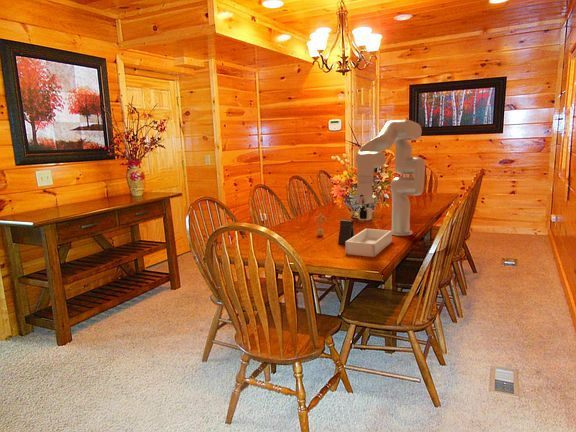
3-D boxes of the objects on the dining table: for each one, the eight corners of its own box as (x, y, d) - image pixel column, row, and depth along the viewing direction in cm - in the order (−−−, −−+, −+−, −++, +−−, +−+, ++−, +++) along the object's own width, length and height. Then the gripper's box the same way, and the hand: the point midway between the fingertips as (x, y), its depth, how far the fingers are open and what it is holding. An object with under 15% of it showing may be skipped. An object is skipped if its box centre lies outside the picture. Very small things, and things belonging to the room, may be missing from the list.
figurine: (312, 236, 240) (311, 215, 238) (314, 234, 245) (313, 213, 243) (326, 236, 238) (326, 215, 236) (328, 234, 243) (328, 213, 241)
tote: (365, 239, 229) (365, 228, 228) (391, 241, 222) (391, 230, 221) (345, 253, 203) (345, 241, 202) (374, 257, 197) (374, 244, 195)
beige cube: (361, 217, 207) (361, 207, 206) (371, 218, 205) (371, 207, 204) (358, 219, 203) (358, 209, 202) (368, 220, 200) (368, 209, 199)
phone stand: (344, 240, 229) (344, 218, 227) (355, 241, 226) (355, 219, 224) (337, 244, 222) (337, 221, 219) (348, 245, 218) (348, 222, 216)
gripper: (363, 177, 209) (363, 214, 213) (351, 181, 195) (351, 220, 198) (378, 178, 206) (378, 215, 209) (367, 181, 191) (367, 221, 195)
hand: (365, 217), depth 204 cm, fingers closed on beige cube, 4 cm apart
